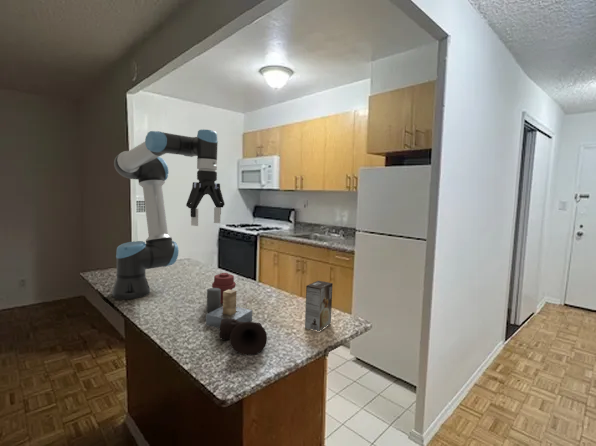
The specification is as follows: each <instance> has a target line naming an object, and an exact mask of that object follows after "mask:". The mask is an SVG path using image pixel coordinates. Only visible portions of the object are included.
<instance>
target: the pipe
mask: <svg viewBox="0 0 596 446" xmlns="http://www.w3.org/2000/svg"><path fill="white" fill-rule="evenodd" d="M218 331H219V332H218V337H219V339H220V340H227V341H229V344H230V346H231V348H232V350H233V351H234V352H236V353H237V354H241V355H244V356H255V355H257V354H259V353H260V352H262V351H264V349H265V348H266V345H267V342H268V334H267V332H266V331H267V330H266V329H265V328H264V327H263V325H262V323H261V322H254V321H250V322H242V321H241V322H239V321H238V320H235V319H231V318H230V319H229V318H227V319H222V320H221V324H220V328H219V330H218Z"/></svg>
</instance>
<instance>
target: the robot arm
mask: <svg viewBox="0 0 596 446" xmlns="http://www.w3.org/2000/svg"><path fill="white" fill-rule="evenodd" d="M218 142H219V141H218V133H217V132H216V131H215V130H212V129H204V128H203V129H198V131H197V136H185V135H181V134H175V133H168V132H163V131H158V130H157V131H155V130H151V131H149V132H147V134H146V136H145V140H144V141H143V142H141V143H140V144H138V145H136V146H135V147H133V148H132V149H130V150H124V151H122V152H120V153H119V154H117V155H116V157H115V158H114V161H113V166H114V169H115V170H116V172H117V173H118V174H119V175H120V176H121V177H123V178H127V179H129V180H137V181H138V185H139V186H141V187H142V192H143V198H144V199H143V200H144V208H145V209H144V210H145V216H146V224H147V231H148V237H147V238H146V240H145V241H143V240H136V241H135V240H134V241H128V242H124V243H121V244H120V245H118V246H117V247H116V255H115V258H116V261H115V262H116V280H115V283H114V285H113V289H112V292H111V293H112V295H111V296H112V297H113V298H115V299H118V300H131V299H140V298H143V297H146V296H148V295H149V294H150V292H151V290H150V289H151V288H150V285H149V282H148V278H147V276H146V270H151V269H157V268H166V267H168V266H172V265H174V264H175V263H176V262H177V260H178V256H179V252H180V251H179V246H178V244H177V243H176V241H174V240H173V238H172V236H170V234H169V231H168V225H167V224H168V223H167V216H166V209H165V200H164V193H163V185H165V183H166V182H165V181H167V180H168V178H169V167H168V164H167V162H166V161H165V159H164V158H162V156H164V155H166V154H169V155H170V154H171V155H181V156H185V157H189V158H194V157H196V158H197V159H196V160H197V161H196V169H197V171H196V179H197V181H198V182H196V181H194V182H192V187H191V191H190V193H189V195H188V199H187V202H186V204H185V206H186V207H187V208H188V209H190V218H191V220H190V225H191V226H193V227H199V208H198V206H199V204H200V203H201V201H202V199H203V198H204V196H205V195H208V196H209V197H210V199H211V200H212V202H213V204H214V207H213V223H214V224H221V214H222V208H224V207H225V201H224V197H223V193H222V190H221V183H217V180H218V179H217V178H218V175H217V174H218V172H217V170H218V162H217V161H218V146H219V145H218V144H219V143H218Z"/></svg>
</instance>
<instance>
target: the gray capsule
mask: <svg viewBox="0 0 596 446" xmlns="http://www.w3.org/2000/svg"><path fill="white" fill-rule="evenodd" d="M206 290H207V291H206V314H208V313H210V312H212V311H214V310H216V309H218V308H220V307H221V304H220V299H221V289H219V288H213V287H211V288H207V289H206Z"/></svg>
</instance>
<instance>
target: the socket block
mask: <svg viewBox="0 0 596 446" xmlns="http://www.w3.org/2000/svg"><path fill="white" fill-rule="evenodd" d="M227 318H229V319H230V318H231V319H235V320H238V321H239V322H241V321H242V322H253V309H249V308H244V307H239V306H236V313H235V314H233V315H227V314H223V305H222V306H220V308H218V309H216V310H214V311H212V312H210V313H206V314H205V326H207V327H208V326H209V327H211V328H216V329H220V324H221V320H222V319H227Z"/></svg>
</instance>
